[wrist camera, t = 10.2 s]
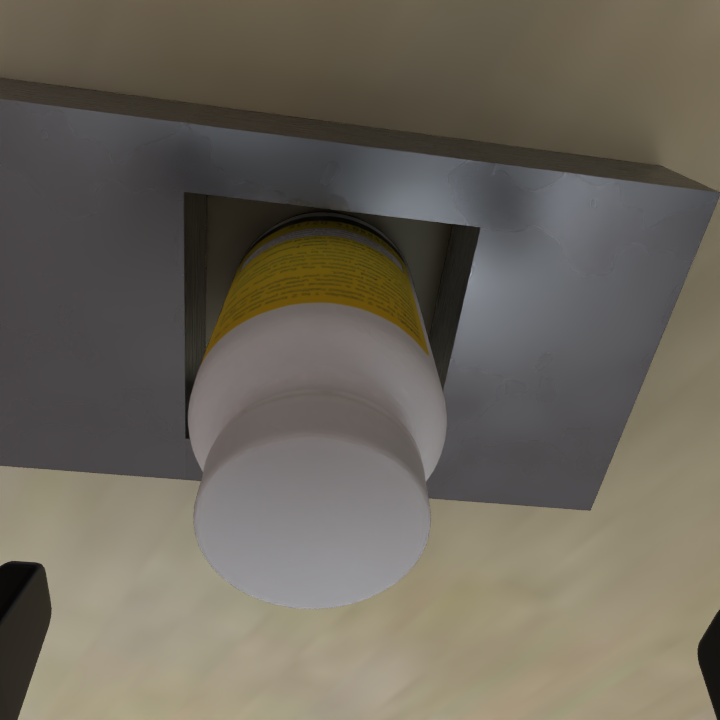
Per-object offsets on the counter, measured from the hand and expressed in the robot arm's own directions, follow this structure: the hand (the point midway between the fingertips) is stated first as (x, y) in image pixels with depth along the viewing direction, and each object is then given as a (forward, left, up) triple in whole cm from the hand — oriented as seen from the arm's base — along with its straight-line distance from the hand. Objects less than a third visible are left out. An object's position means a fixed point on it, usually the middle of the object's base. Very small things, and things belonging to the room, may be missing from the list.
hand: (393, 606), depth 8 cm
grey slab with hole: (+1, +1, -12) cm, 12 cm away
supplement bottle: (+1, +1, -12) cm, 12 cm away
